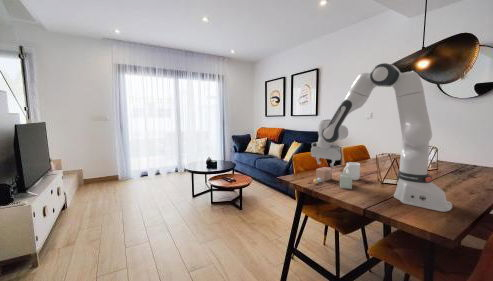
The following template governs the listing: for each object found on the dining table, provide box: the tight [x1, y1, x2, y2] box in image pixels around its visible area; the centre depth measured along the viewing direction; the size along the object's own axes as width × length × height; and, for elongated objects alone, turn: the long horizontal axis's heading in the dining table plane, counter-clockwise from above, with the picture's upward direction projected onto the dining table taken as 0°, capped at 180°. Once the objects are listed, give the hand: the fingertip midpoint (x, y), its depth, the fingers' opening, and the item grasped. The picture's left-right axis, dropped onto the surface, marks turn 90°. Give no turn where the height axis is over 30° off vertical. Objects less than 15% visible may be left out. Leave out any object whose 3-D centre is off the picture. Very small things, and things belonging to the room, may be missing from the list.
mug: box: [343, 161, 361, 181], centre depth 144 cm, size 12×8×10 cm
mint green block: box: [339, 172, 353, 190], centre depth 130 cm, size 6×9×7 cm
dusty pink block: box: [315, 166, 333, 183], centre depth 144 cm, size 6×9×7 cm
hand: (325, 165), depth 143 cm, fingers open, 8 cm apart
